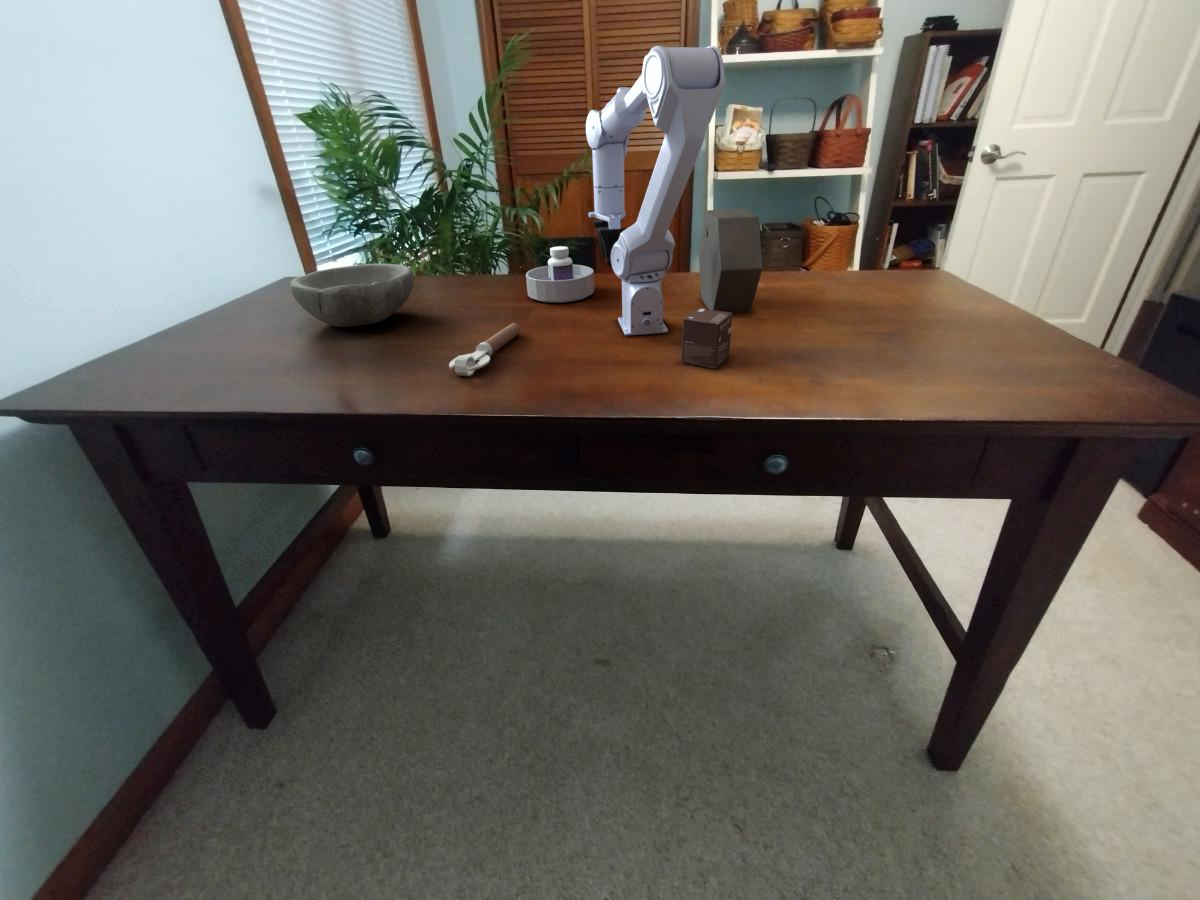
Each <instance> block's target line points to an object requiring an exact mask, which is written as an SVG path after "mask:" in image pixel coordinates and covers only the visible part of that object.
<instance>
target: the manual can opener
mask: <svg viewBox="0 0 1200 900" xmlns="http://www.w3.org/2000/svg"><path fill="white" fill-rule="evenodd" d="M520 333H521V327H520V325H519V324H518V323H516V322H511V323H510V324H509V325H507V326H506V327H504V328H503V329H501V330H500V331H498V332H497V333H495V334H493V335H492V336H491V337H489V338H488V339H486V340H485V341H483V342H480V343H479V344H477V345H476V346H475V351H473V352H472V353H466V354H462V355H457V356H456V357H455V358H453V359H452V360H451V361H450V362H449V364H448V367H449V370H452V369H453V368H454V372H455V374H456V376H463V377H471V376H472V375H474V374H475V371H476V370H479V369H481V368H483V367H485V366H487V365H488V364H489V363H490V362H491V356H492V355H493V354H494V353H495V352H497V351H499V349H500V348H502V347H503V346H505V345H507V343H509V342H510V341H511V340H513V339H514V338H516V337H517V336H518V335H520ZM476 361H478V362H477V363H476Z"/></svg>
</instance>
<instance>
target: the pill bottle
mask: <svg viewBox="0 0 1200 900" xmlns="http://www.w3.org/2000/svg"><path fill="white" fill-rule="evenodd" d="M569 253H570V252H569V247H568V246H563V245H559V246H552V247H550V248H549V254H550V257H551V258H549V259H548V261H547V266H548V271H549V280H552V281H557V280H569V279H573V265H574V264H573V260H572V259H573V258H571V257H569Z"/></svg>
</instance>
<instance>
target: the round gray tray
mask: <svg viewBox="0 0 1200 900" xmlns="http://www.w3.org/2000/svg"><path fill="white" fill-rule="evenodd" d="M594 271H595V270H594V269H593V268H591V267H589V266H587V265H582V264H573V279H569V280H557V281H552V280H549V271H548V265H545V266H539V267H535V268H532V269H529V270H528V271H527V272H526V273H525V280H526V290H527V296H528V297H529V298H530V299H533V300H535V301H538V302H541V303H547V304H565V303H572V302H578V301H580V300H584V299H585V298H588V297H589V296H591V295H593V294H594V293H595V272H594Z"/></svg>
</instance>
